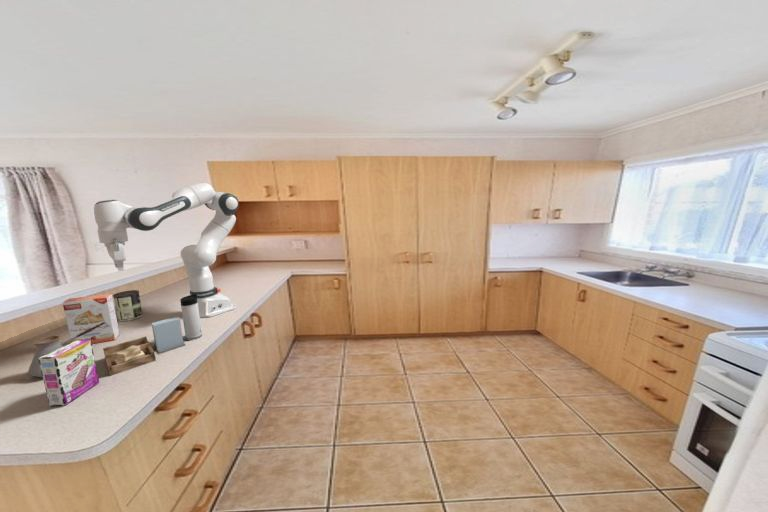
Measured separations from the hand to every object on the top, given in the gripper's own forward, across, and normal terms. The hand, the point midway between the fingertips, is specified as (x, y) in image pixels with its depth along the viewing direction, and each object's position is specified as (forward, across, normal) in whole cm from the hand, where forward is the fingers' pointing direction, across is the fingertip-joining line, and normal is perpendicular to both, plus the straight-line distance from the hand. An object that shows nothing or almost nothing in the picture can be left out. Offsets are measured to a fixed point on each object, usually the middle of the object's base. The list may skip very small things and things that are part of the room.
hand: (119, 268), depth 118 cm
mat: (+33, -22, -10) cm, 41 cm away
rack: (+33, -24, +3) cm, 41 cm away
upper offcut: (+30, -28, +4) cm, 41 cm away
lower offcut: (+34, -28, +4) cm, 44 cm away
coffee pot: (+33, -13, +18) cm, 40 cm away
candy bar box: (+33, -37, +18) cm, 53 cm away
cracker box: (+33, +8, +11) cm, 36 cm away
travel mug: (+33, -21, -19) cm, 44 cm away
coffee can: (+33, +32, -3) cm, 46 cm away
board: (+32, -22, -10) cm, 40 cm away
